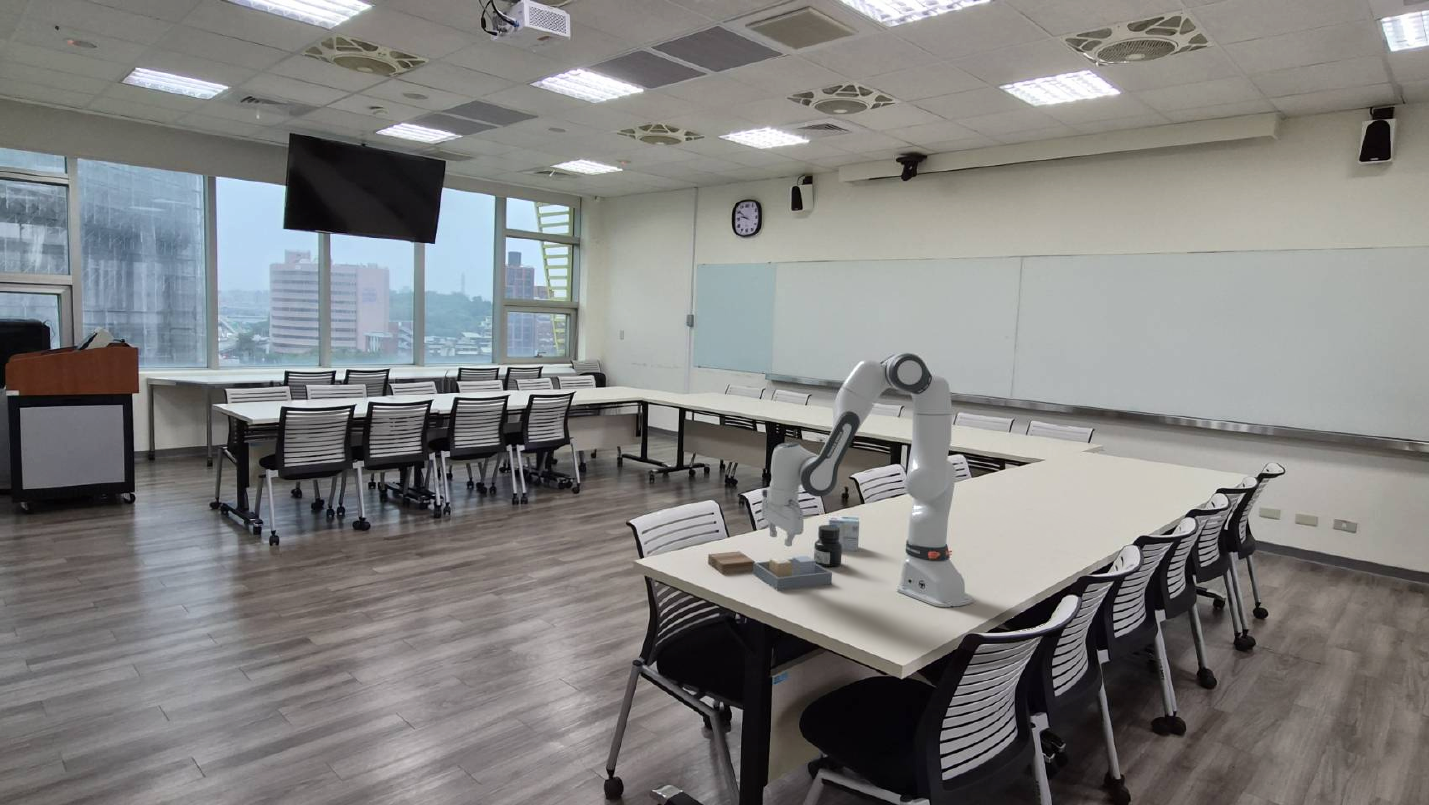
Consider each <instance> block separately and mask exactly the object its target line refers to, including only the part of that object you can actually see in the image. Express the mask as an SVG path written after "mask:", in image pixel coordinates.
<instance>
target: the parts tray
mask: <svg viewBox="0 0 1429 805" xmlns="http://www.w3.org/2000/svg"><path fill="white" fill-rule="evenodd" d="M786 559H787V558H786ZM787 560H788V561H790V562H792V564H793V558H789V559H787ZM769 568H770V560H769V561H759V562H755V563H753V571H752V575H754V576H755V575H756V576H755V577H757V578H758V577H759V578H758V579H760V580H761V581H763V580H764V581H765V582H764V581H763V582H764V583H766V584H767V583H768V584H769V585H768V584H767V585H768V586H769V587H771V586H773V587H774V588H776V589H777V590H776V589H775V590H776V591H782V590H781V589H785V590H790V589H791V588H793V589H802V588H810V587H817V586H826V585H832V582H833V581H832V580H833V572H831V571H830V570H828V569H826V567H823V566H820V565H818V564H816V563H815V574H807V575H798V576H789V577H780V578H779V577H777V576H776V575H774V574H772V573H771V572H769ZM773 587H772V588H773ZM799 587H800V588H799ZM801 587H802V588H801ZM774 588H773V589H774ZM789 588H790V589H789ZM779 589H780V590H779Z"/></svg>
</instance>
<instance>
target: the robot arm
mask: <svg viewBox="0 0 1429 805" xmlns="http://www.w3.org/2000/svg"><path fill="white" fill-rule="evenodd" d="M888 388H889V389H890V388H892V389H895V390H898V391H904V392H908V393H910V395H911V399H912V403H913V404H912V432H911V433H912V437H911V438H912V439H911V447H910V453H909V458H908V464H907V465H908V466H907V472H906V476H905V479H904V487H905V490H906V492H907V494H908V495H909V496H911V498H913V499H914V500H913V503H912V507H911V510H910V513H909V518H908V520H909V521H908V522H909V523H908V536H907V540H906V542H905V543H906V544H905V553H906V554H905V555H906V556H905V559H904V562H903V565H902V570H901V575H900V576H901V577H900V582H899V585H898V586H897V589H896V590H897V592H898V593H901V594H903V595H906V596H909V597H911V598H914V599H916V600H919V601H922V602H924V603H927V604H929V605H931V606H934V607H939V608H941V607H942V608H950V607H951V606H953V607H960V606H965V605H966V606H967V605H970V604H972V603H973V602H972V601H974V599H973V597H972V596H971V595H969V594H967V593H966V586H965V585H966V584H965V579H964V578H963V576H962V575H963V574H961V573H960V572H959V571H958V569H957V567H955V565H954V564H953V562H952V561H951V560H950V558H951V557H950V556H951V555H953V553H952V552H953V550H949V546H948V543H947V538H948V528H949V527H948V525H949V524H948V523H949V515H950V512H951V511H950V510H951V508H952V507H951V506H952V502H953V501H952V500H953V496H954V490H955V484H956V479H957V471H956V467H955V465H954V464H953V463H952V461H949V460H948V459H949V458H948V457H949V450H950V447H951V443H952V421H953V420H952V419H953V418H952V416H953V414H952V412H953V411H952V410H953V409H952V397H951V390H950V386H949V382H948V381H947V379H945V378H944V377H942V376H939V375H932V374H931V371H929V368H928V367H927V365H926V363H925V361H924V360H923V359H922V358H921V357H919V356H918V355H916V354H914V353H910V352H899V353H895V354H892V355H891V356H889V357H887V358H885V359H884V360H882V361H881V362H877V361H876V360H871V359H863V360H861V361H859V362H858V363H857V364H856V365H855V366H854V368H853V369H852V370H851V372H850V373H849V374H848V375H847V377H846V378H845V380H844V382H843V383H842V385H841V387H840V388H839V391H838V392H837V394H836V396H835V399H834V403H833V405H832V415H833V416H832V417H833V418H832V419H833V423H832V429H831V431H830V434H829V436H828V438H827V440H826V442H825V444H824V445H823V447H822V449H821V450H820V453H819V454H816V453H814V452H811V451H809V450H808V449H806V448H804V447H803V446H802V445H800V443H797V442H782V443H780V444H778V445H776V446H775V447H774V450H773V452H772V455H771V464H770V474H771V480H770V482H769V487H768V488H763V489H762V490H761V496H762V498H761V516H762V519H764V520H765V521H767V525H768V528H769V536H770V537H772V538H777V536H778V535H777V534H778V531H777V529H776V527H778V528H780V529H781V530H782V531H785V532H786V538H785V539H784V546H786V547H792V546H793V541H794V538H795V537H796V536H799V535H802V534H803V532H804V522H805V521H804V511H803V510H802V508H801V506H800V503H799V494H800V486H802V488H803V489H804V491H805V492H806V493H807V494H808V495H810V496H812V497H816V498H817V497H824V496H827V495H829V494H830V493H832V492H833V491H834V489H835V487H836V485H837V482H838V472H839V467H840V465H841V462H842V460H843V459H844V457H845V455H846V453H847V451H848V449H849V447H850V445H851V443H852V441H853V439H854V437H855V435H856V434H857V432H858V431H859V429H861V426H862V425H863V424H864V422H865V420H866V419H867V417H868V416H869V415H870V413H871V411H872V410H873V408H874V407H875V405H876V403H877V401H878V399H879V397H880V396H881V394H882V393H883V392H884V391H885V390H887V389H888ZM951 608H952V607H951Z"/></svg>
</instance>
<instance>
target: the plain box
mask: <svg viewBox="0 0 1429 805" xmlns="http://www.w3.org/2000/svg"><path fill="white" fill-rule="evenodd" d="M792 559H793V564H792V576H798V575H807V574H815V560H814V558H812V557H810V556H808V555H804V556H793V557H792Z"/></svg>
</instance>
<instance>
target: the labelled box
mask: <svg viewBox="0 0 1429 805" xmlns="http://www.w3.org/2000/svg"><path fill="white" fill-rule="evenodd" d="M769 561H770V568H769V572H771V573H772V574H774V575H776V576H777V577H779V578H780V577H789V576H792V562H790V561H788V560H787V558H785V557H782V558H771V559H769Z"/></svg>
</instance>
